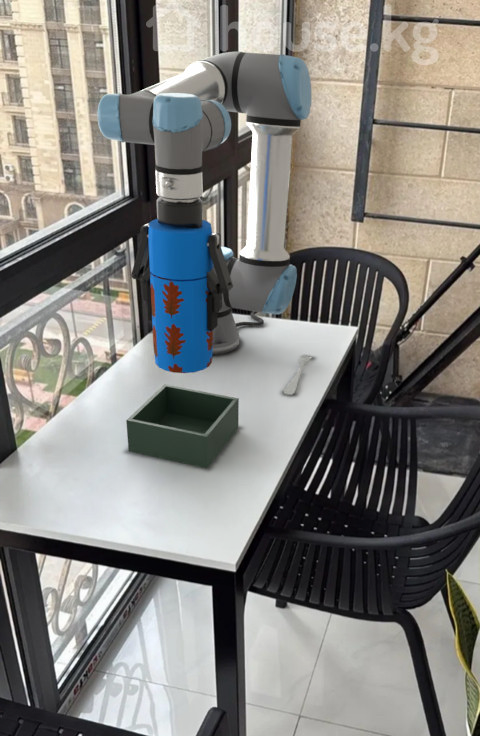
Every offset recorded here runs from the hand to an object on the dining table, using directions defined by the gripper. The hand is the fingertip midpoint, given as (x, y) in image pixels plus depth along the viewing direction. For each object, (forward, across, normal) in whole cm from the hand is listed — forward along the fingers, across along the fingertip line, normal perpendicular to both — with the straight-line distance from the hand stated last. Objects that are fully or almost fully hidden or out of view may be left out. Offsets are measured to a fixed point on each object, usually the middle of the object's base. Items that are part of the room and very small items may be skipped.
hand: (182, 323), depth 136 cm
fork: (+24, +12, +36) cm, 45 cm away
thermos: (+8, 0, 0) cm, 8 cm away
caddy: (+24, 0, 0) cm, 24 cm away
